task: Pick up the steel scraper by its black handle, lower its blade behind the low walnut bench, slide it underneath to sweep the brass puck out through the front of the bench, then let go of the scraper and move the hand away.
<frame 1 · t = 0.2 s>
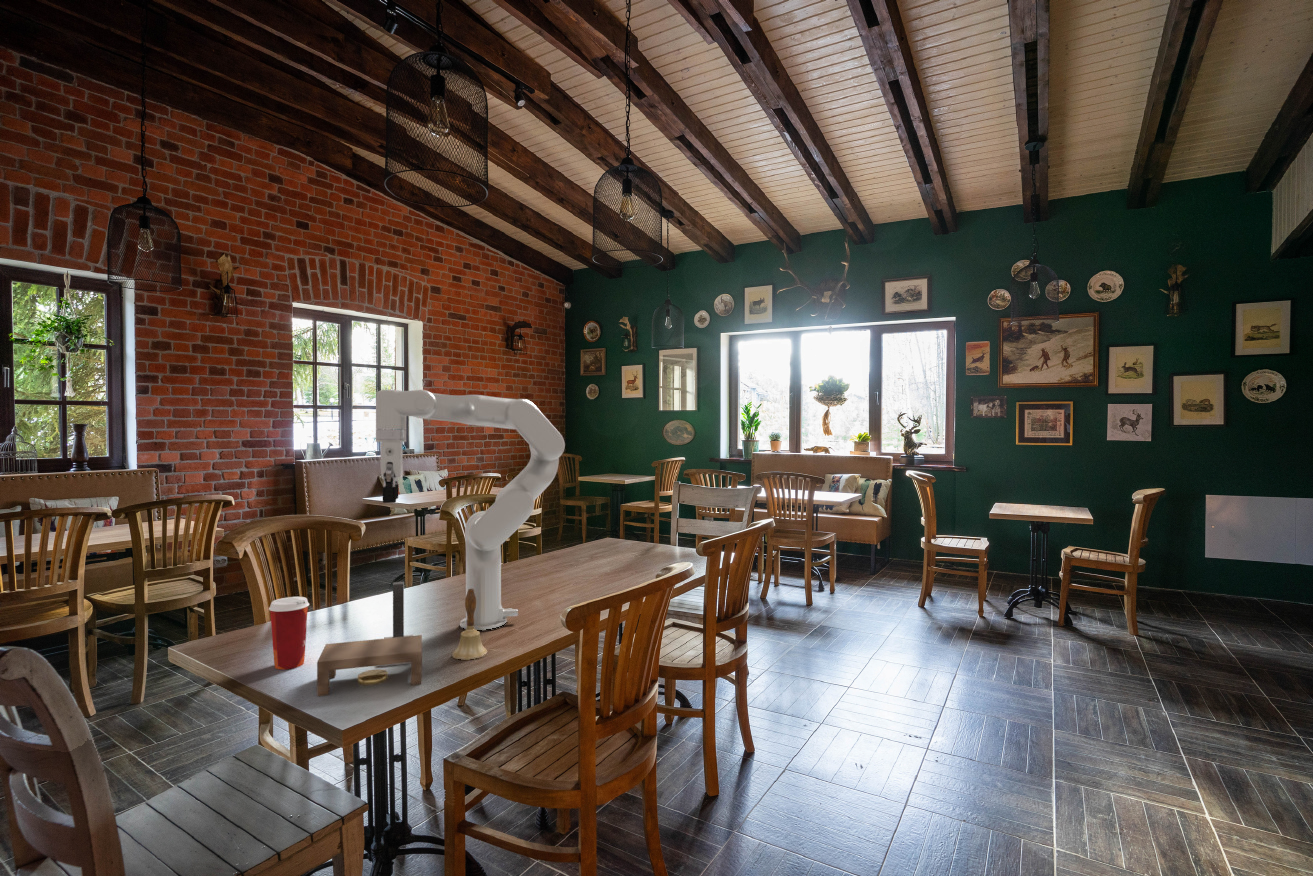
hand: (390, 500, 174), 36 cm above the table, tool pointing down, fingers open, 9 cm apart
coffee cup: (289, 665, 152), on the table
steel scraper: (398, 642, 169), on the table
walnut bench: (372, 679, 143), on the table
brass puck: (372, 681, 143), on the table
hand bell: (470, 655, 159), on the table
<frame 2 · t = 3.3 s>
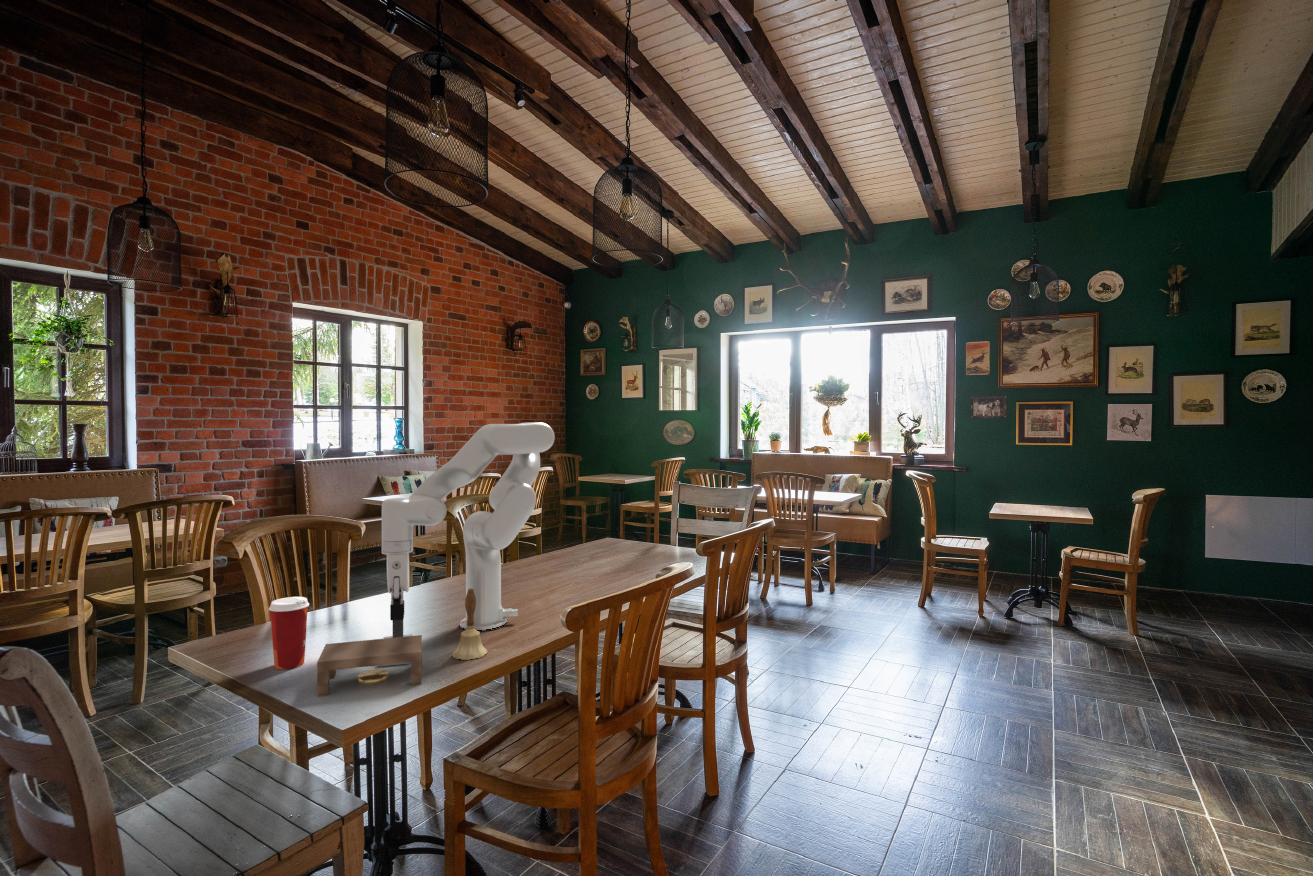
hand: (397, 617, 168), 6 cm above the table, tool pointing down, fingers closed on steel scraper, 2 cm apart
steel scraper: (398, 641, 169), on the table, touching gripper
everything else where it was.
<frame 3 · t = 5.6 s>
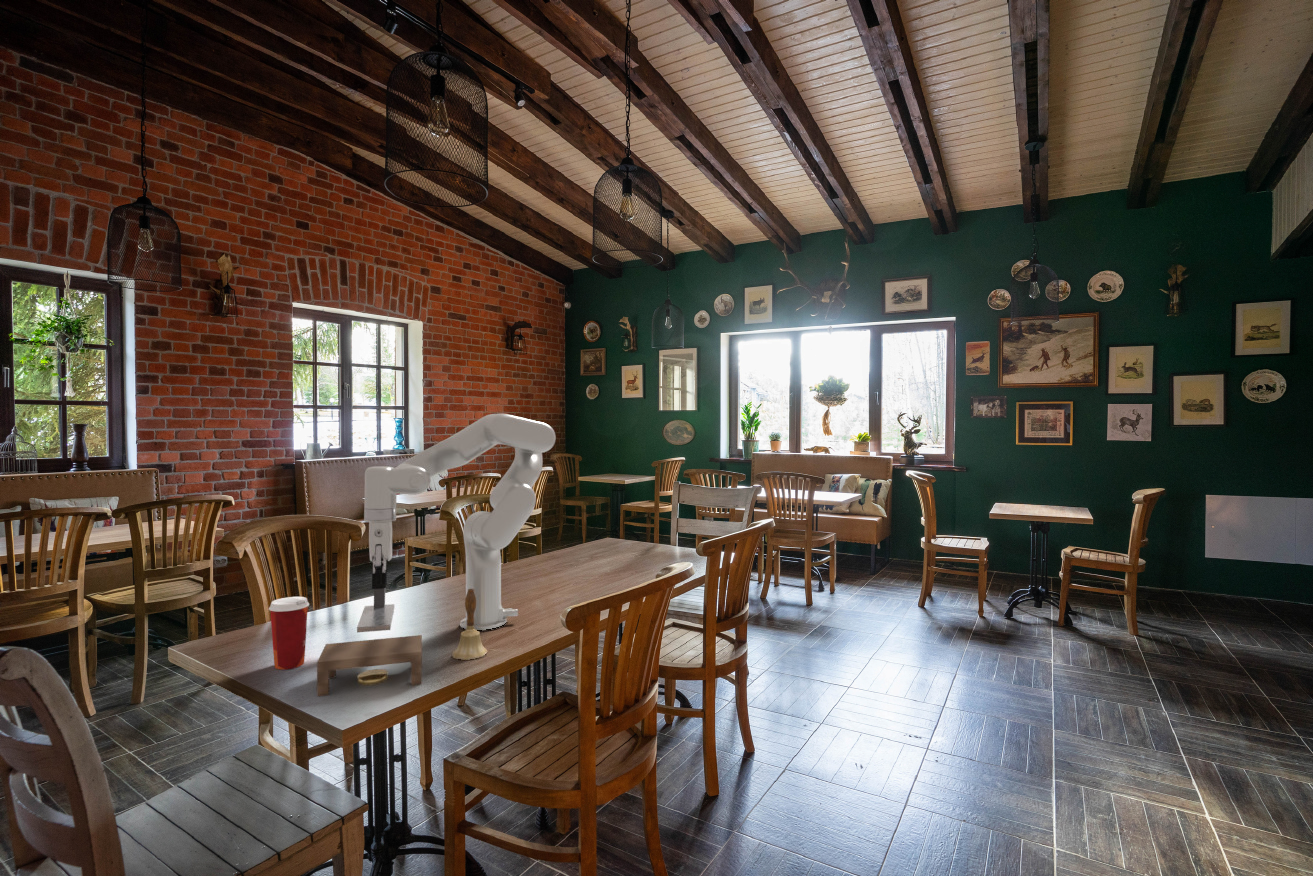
hand: (379, 586, 167), 15 cm above the table, tool pointing down, fingers closed on steel scraper, 2 cm apart
steel scraper: (379, 611, 167), point 8 cm above the table, touching gripper
everything else where it was.
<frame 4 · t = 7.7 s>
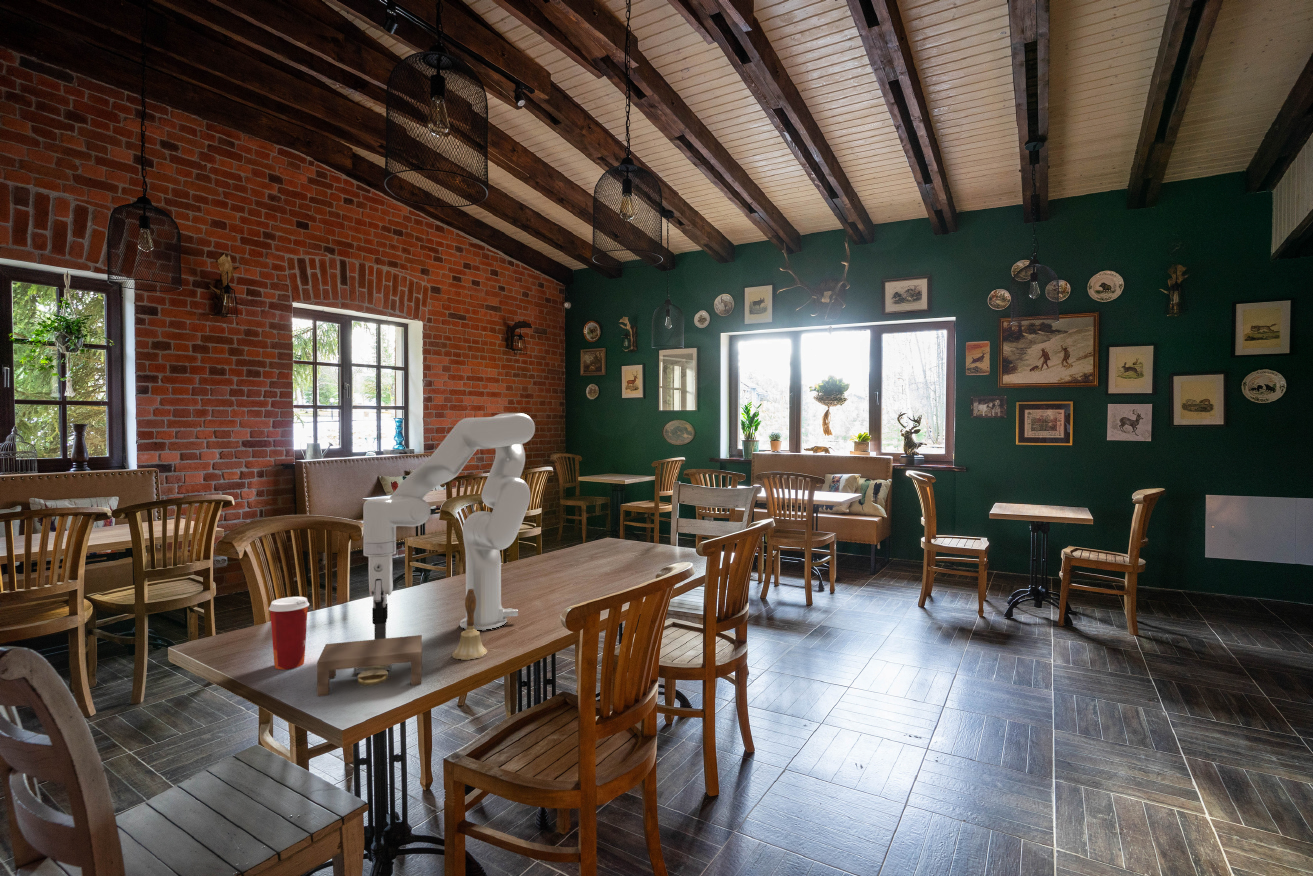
hand: (380, 621, 164), 7 cm above the table, tool pointing down, fingers closed on steel scraper, 2 cm apart
steel scraper: (380, 646, 164), on the table, touching gripper
everything else where it was.
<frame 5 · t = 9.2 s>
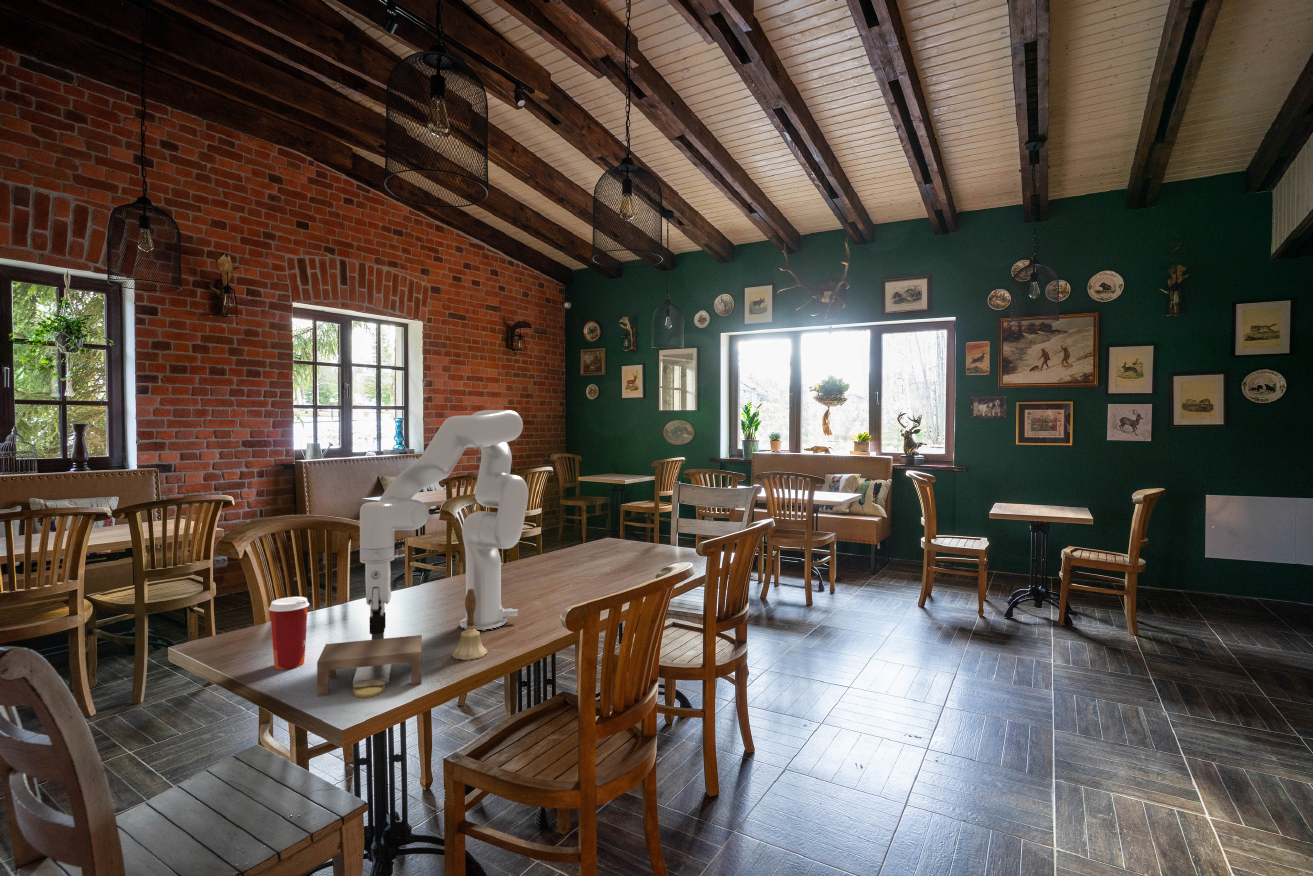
hand: (377, 630, 156), 7 cm above the table, tool pointing down, fingers closed on steel scraper, 2 cm apart
steel scraper: (377, 657, 156), on the table, touching gripper
brass puck: (369, 692, 136), on the table
everything else where it was.
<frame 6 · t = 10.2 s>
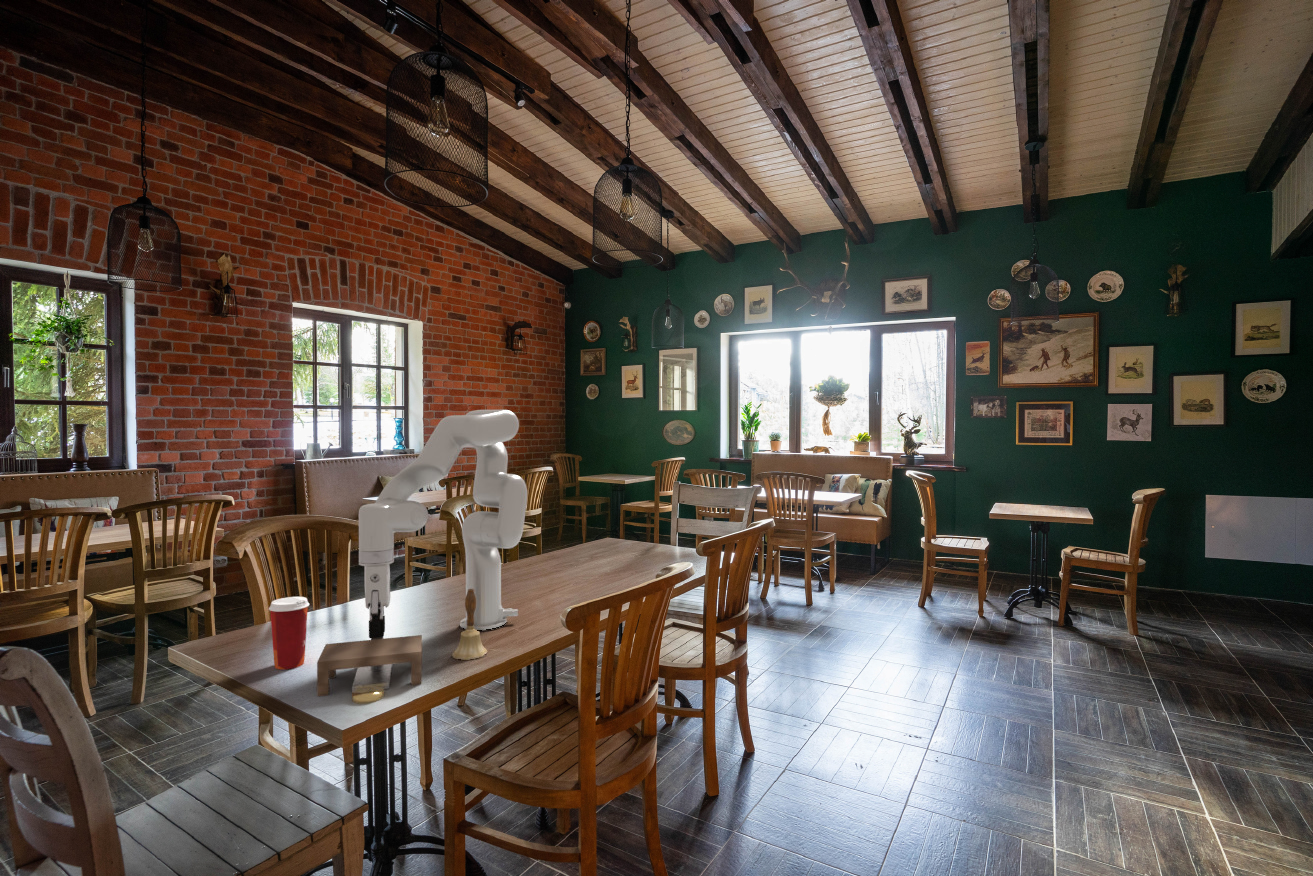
hand: (377, 634, 153), 7 cm above the table, tool pointing down, fingers closed on steel scraper, 2 cm apart
steel scraper: (377, 661, 153), on the table, touching gripper
brass puck: (368, 699, 133), on the table
everything else where it was.
when the fingers open (7 cm above the table, at t = 12.2 s): steel scraper stays where it is, on the table.
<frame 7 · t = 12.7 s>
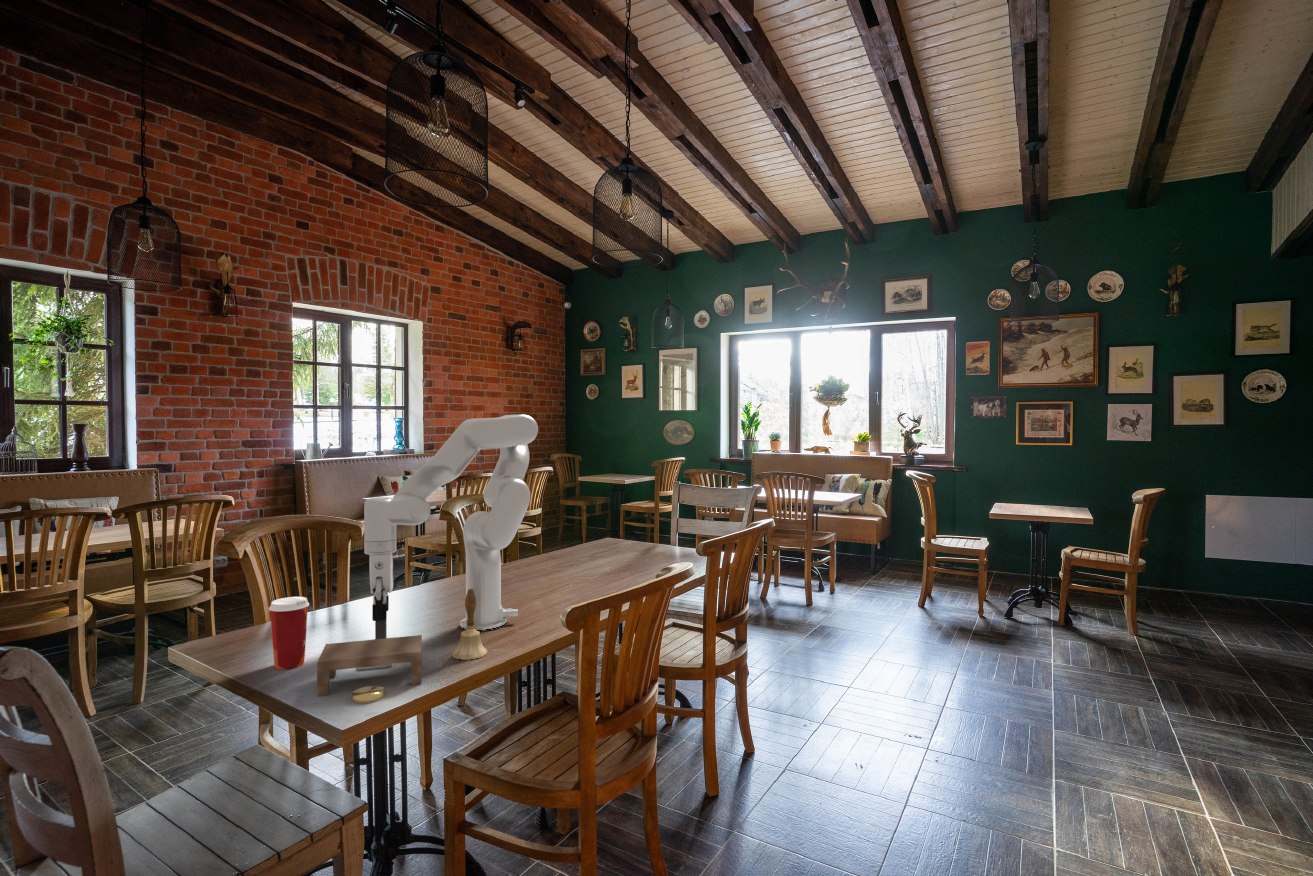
hand: (380, 615, 166), 7 cm above the table, tool pointing down, fingers open, 7 cm apart
steel scraper: (381, 644, 166), on the table
everything else where it was.
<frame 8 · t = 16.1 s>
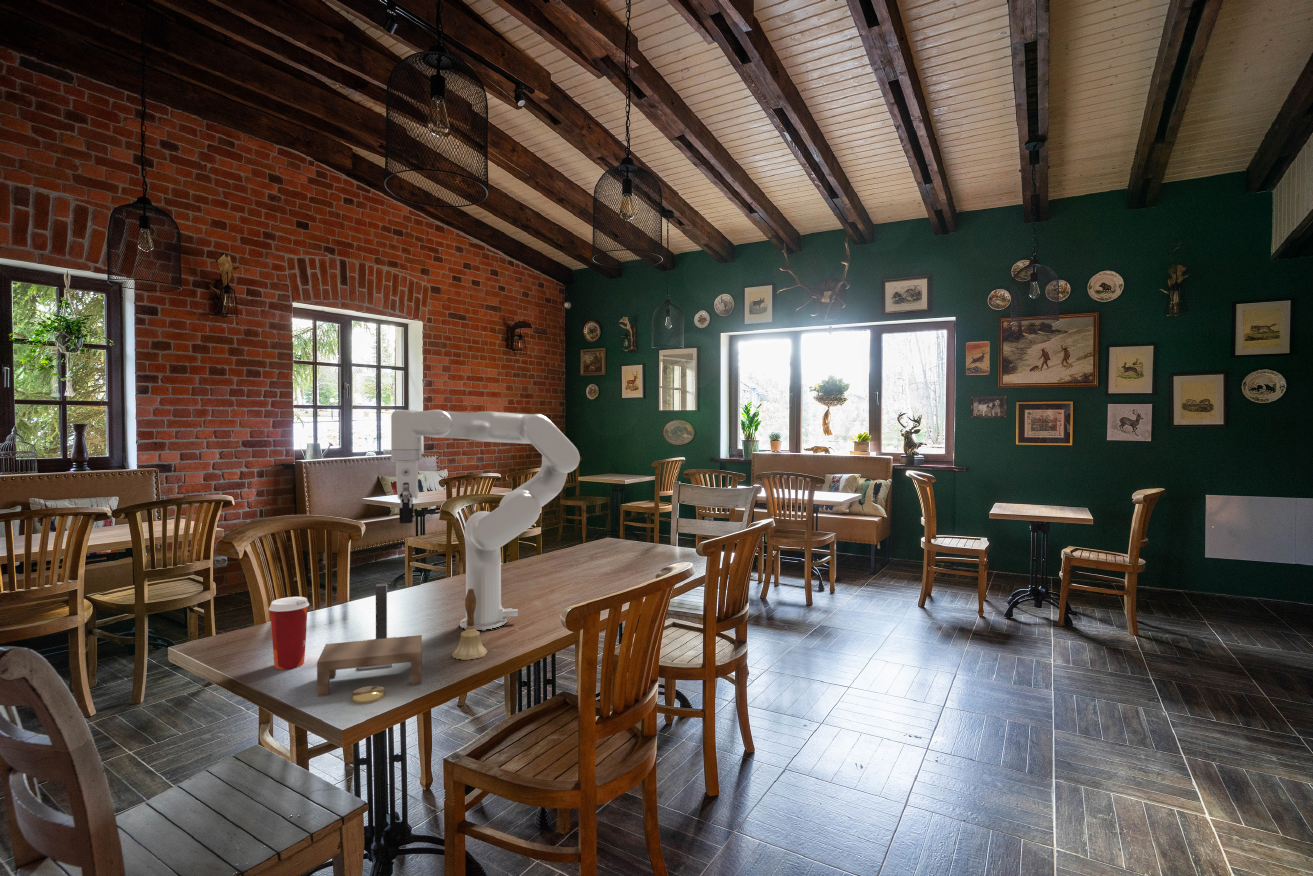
hand: (406, 520, 175), 30 cm above the table, tool pointing down, fingers open, 9 cm apart
nothing on the table moved.
at the end: brass puck inside the target area on the table beside the walnut bench (3.4 cm from its centre), on the table; the gripper is holding nothing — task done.
